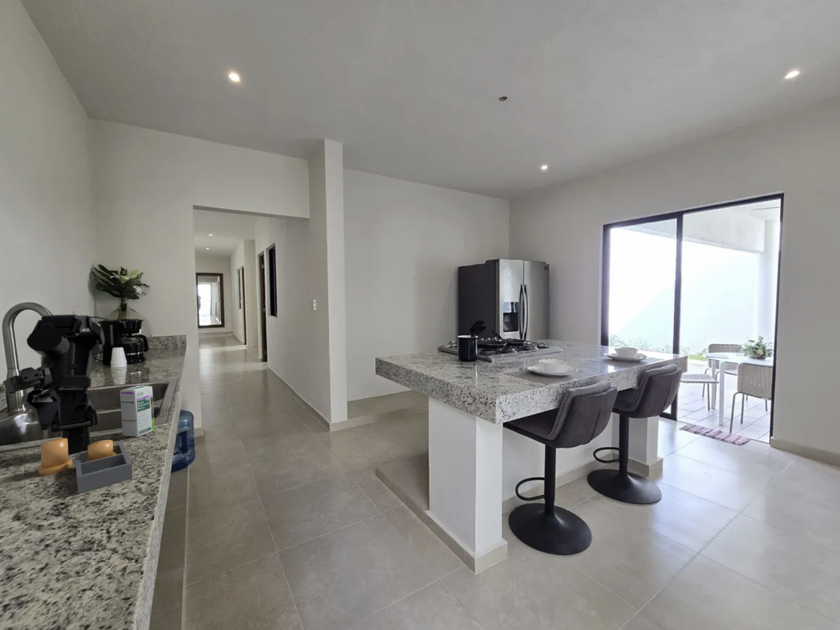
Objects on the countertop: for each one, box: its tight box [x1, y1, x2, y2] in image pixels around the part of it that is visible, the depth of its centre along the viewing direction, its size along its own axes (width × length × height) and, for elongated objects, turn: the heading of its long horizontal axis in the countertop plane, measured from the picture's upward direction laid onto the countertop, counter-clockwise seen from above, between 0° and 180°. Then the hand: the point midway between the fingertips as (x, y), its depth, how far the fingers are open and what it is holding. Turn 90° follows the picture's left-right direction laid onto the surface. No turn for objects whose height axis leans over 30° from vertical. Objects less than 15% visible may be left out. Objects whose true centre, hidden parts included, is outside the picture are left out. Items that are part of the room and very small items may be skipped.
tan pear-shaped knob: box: [37, 437, 73, 477], centre depth 87 cm, size 6×6×7 cm
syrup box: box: [119, 384, 156, 438], centre depth 110 cm, size 6×6×14 cm
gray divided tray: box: [74, 439, 133, 495], centre depth 85 cm, size 17×9×6 cm, turn 45°
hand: (53, 426), depth 84 cm, fingers open, 9 cm apart
